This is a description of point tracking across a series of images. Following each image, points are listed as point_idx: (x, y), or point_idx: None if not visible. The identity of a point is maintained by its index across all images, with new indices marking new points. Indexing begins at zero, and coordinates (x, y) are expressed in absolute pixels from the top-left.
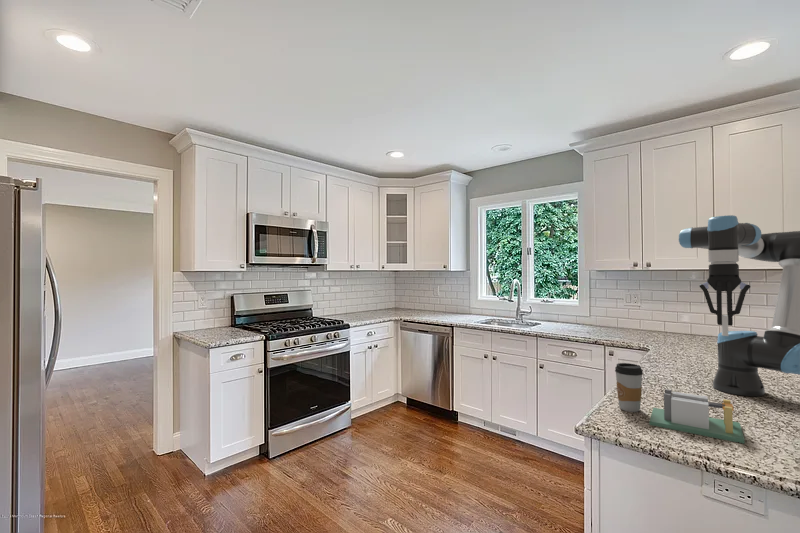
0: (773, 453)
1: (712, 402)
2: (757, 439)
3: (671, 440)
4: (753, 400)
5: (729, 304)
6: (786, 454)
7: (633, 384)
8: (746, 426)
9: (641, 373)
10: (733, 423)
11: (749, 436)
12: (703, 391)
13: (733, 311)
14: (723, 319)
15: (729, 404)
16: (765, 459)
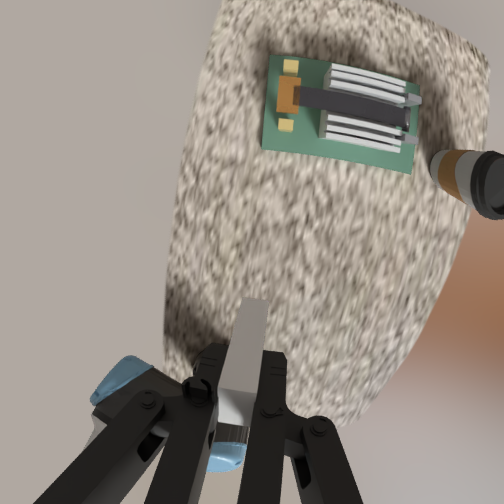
0: (233, 39)
1: (318, 107)
2: (244, 90)
3: (381, 27)
4: (214, 327)
5: (178, 470)
6: (215, 46)
7: (473, 151)
8: (249, 156)
9: (475, 167)
10: (273, 137)
11: (255, 99)
12: (287, 347)
13: (171, 417)
14: (250, 370)
15: (283, 104)
16: (251, 11)
